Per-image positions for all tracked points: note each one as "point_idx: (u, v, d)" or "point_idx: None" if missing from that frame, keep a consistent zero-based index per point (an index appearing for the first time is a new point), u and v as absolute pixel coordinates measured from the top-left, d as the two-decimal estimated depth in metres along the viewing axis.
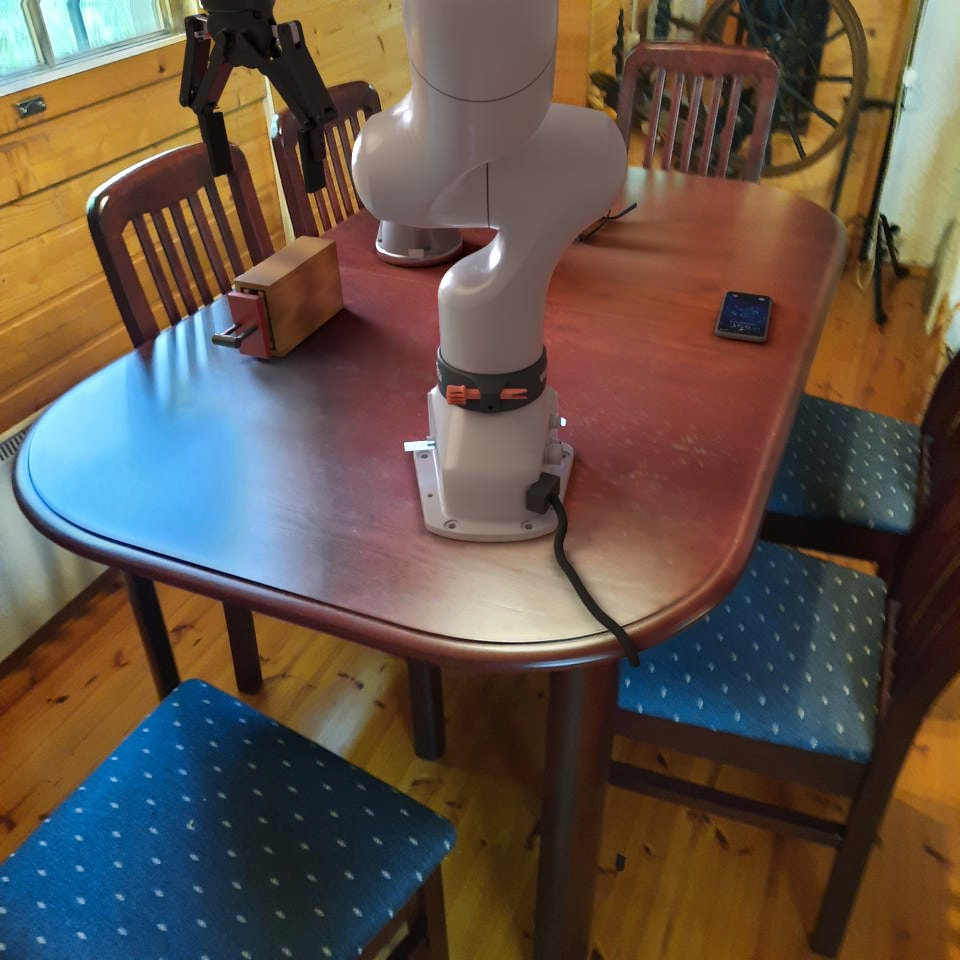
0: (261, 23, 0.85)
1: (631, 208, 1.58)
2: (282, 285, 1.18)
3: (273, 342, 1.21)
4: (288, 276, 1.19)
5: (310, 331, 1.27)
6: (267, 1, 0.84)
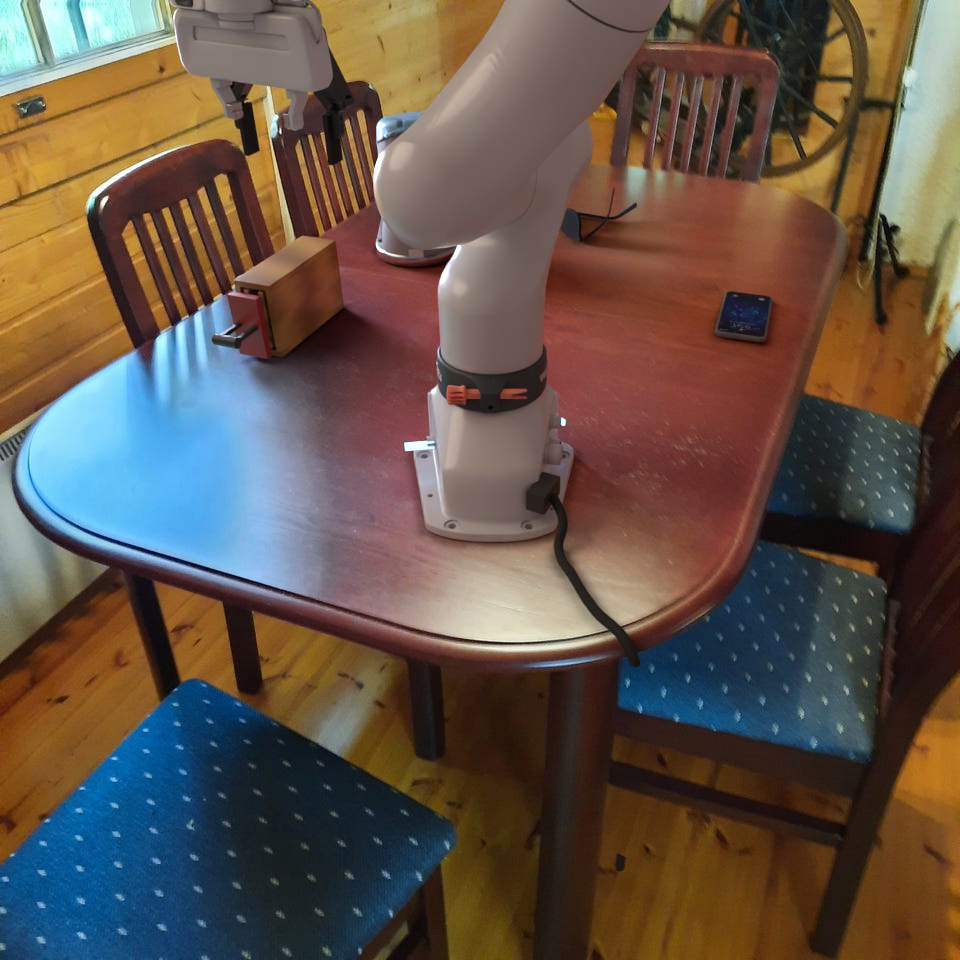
0: None
1: (631, 208, 1.58)
2: (282, 285, 1.18)
3: (273, 342, 1.21)
4: (288, 276, 1.19)
5: (310, 330, 1.27)
6: None
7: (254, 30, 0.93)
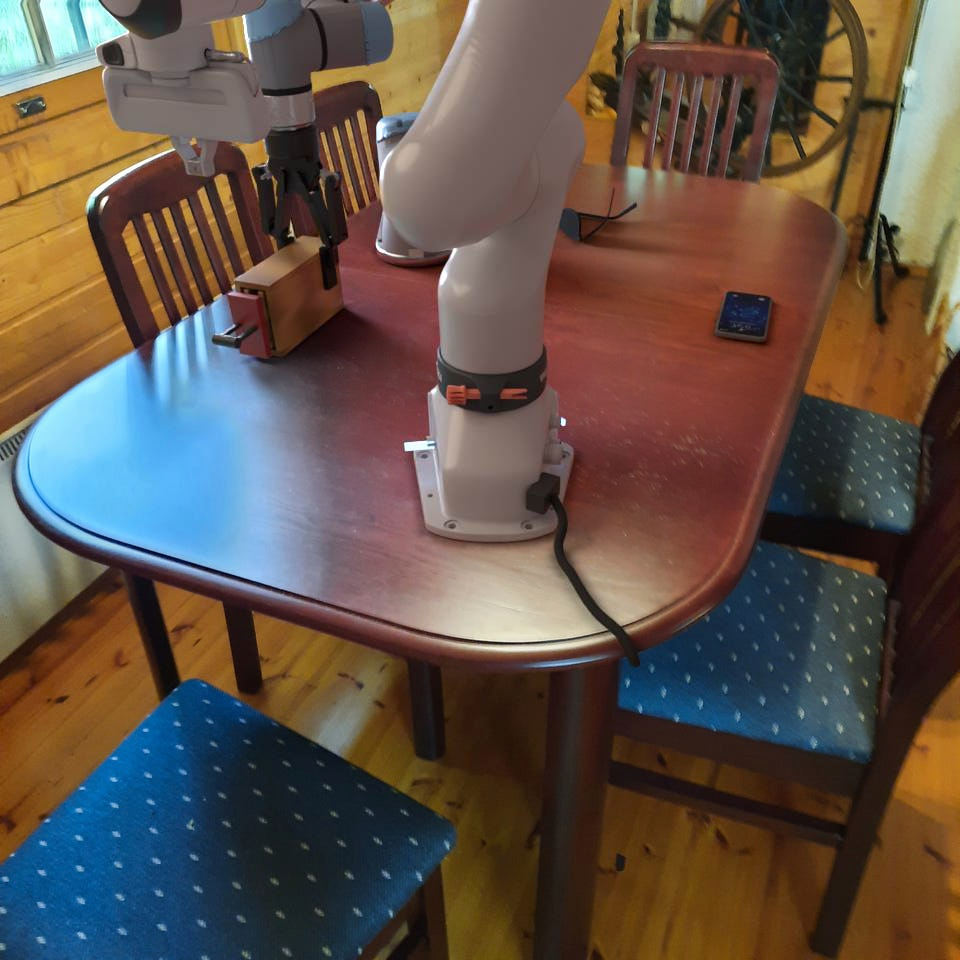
0: None
1: (631, 208, 1.58)
2: (282, 285, 1.18)
3: (273, 342, 1.21)
4: (288, 276, 1.19)
5: (310, 330, 1.27)
6: None
7: (189, 86, 0.94)
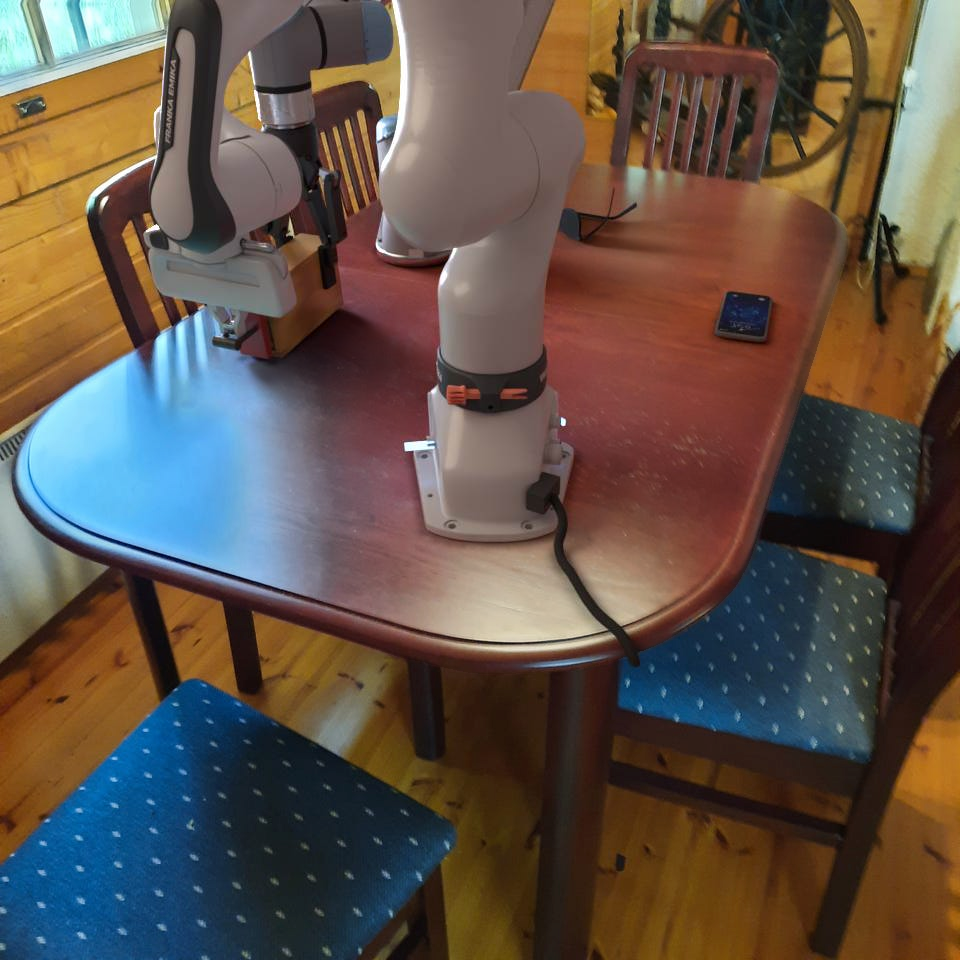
0: None
1: (631, 208, 1.58)
2: None
3: None
4: None
5: (310, 329, 1.27)
6: None
7: (226, 269, 1.07)
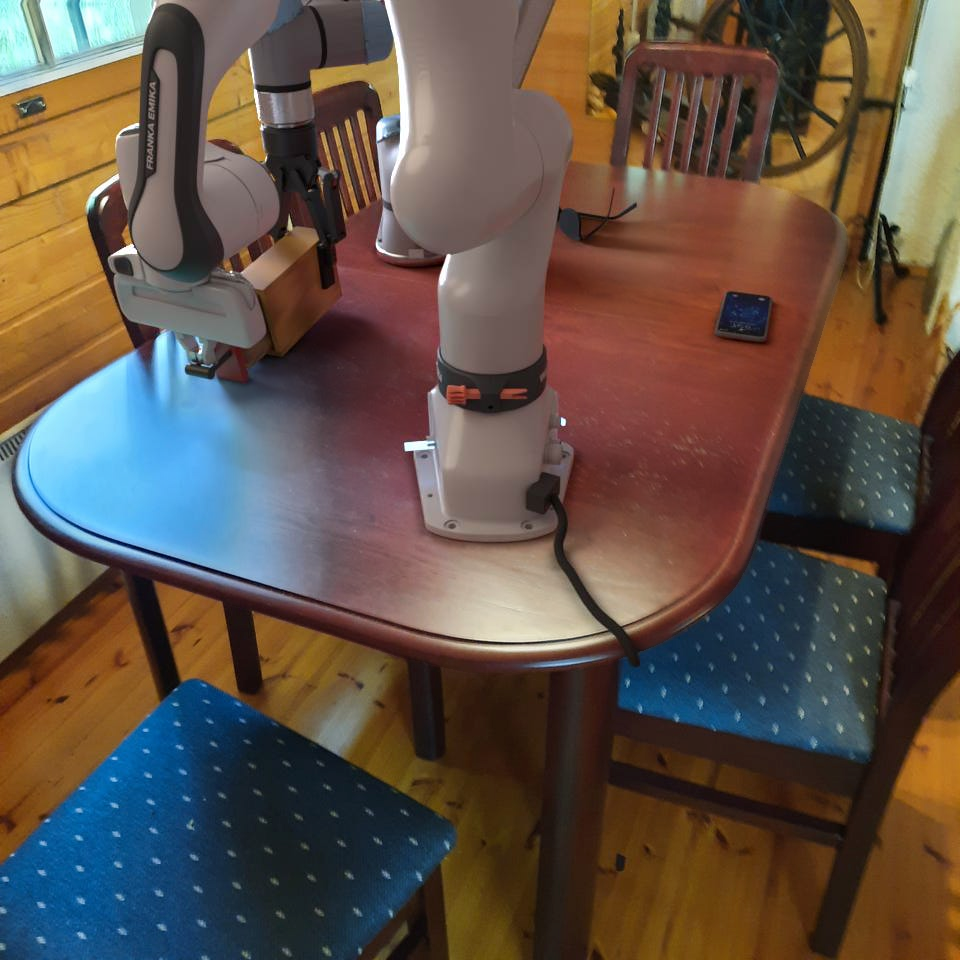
0: None
1: (631, 208, 1.58)
2: (277, 286, 1.17)
3: (250, 363, 1.18)
4: (282, 276, 1.18)
5: (309, 325, 1.26)
6: None
7: (192, 297, 1.03)
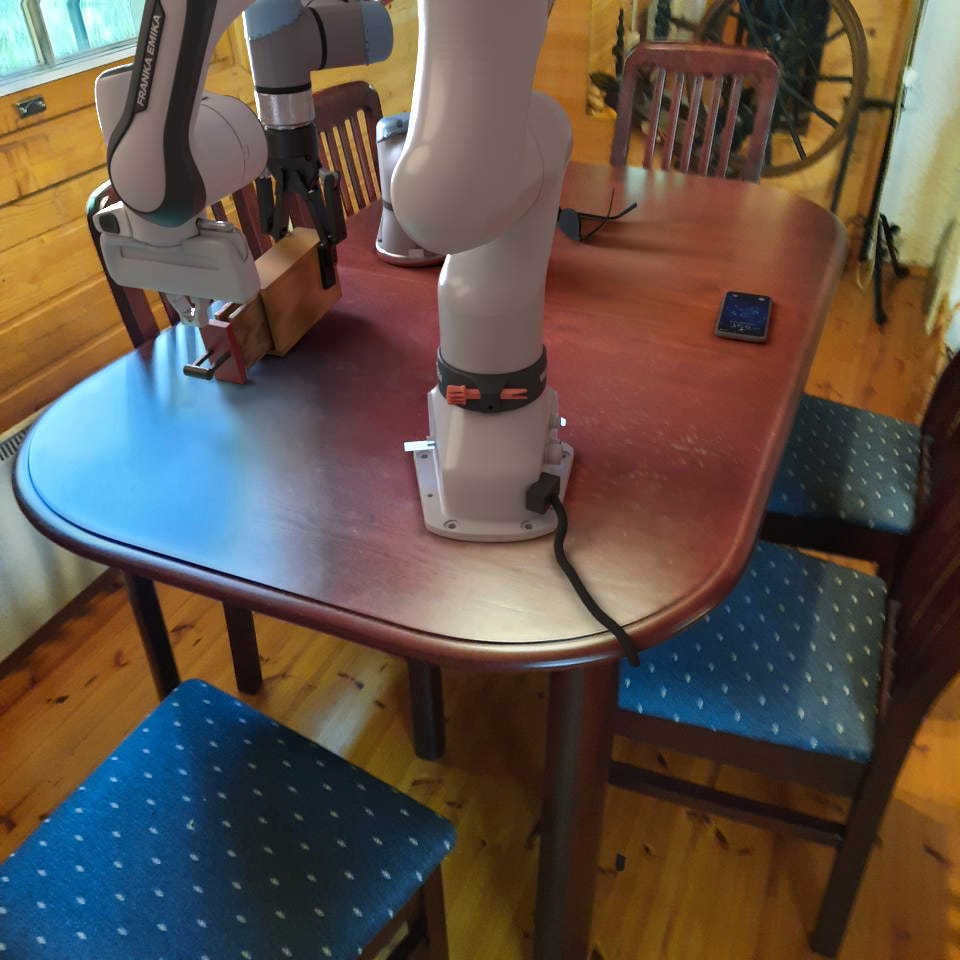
0: None
1: (631, 208, 1.58)
2: (278, 286, 1.17)
3: (249, 365, 1.17)
4: (283, 276, 1.18)
5: (309, 325, 1.27)
6: None
7: (182, 252, 0.99)
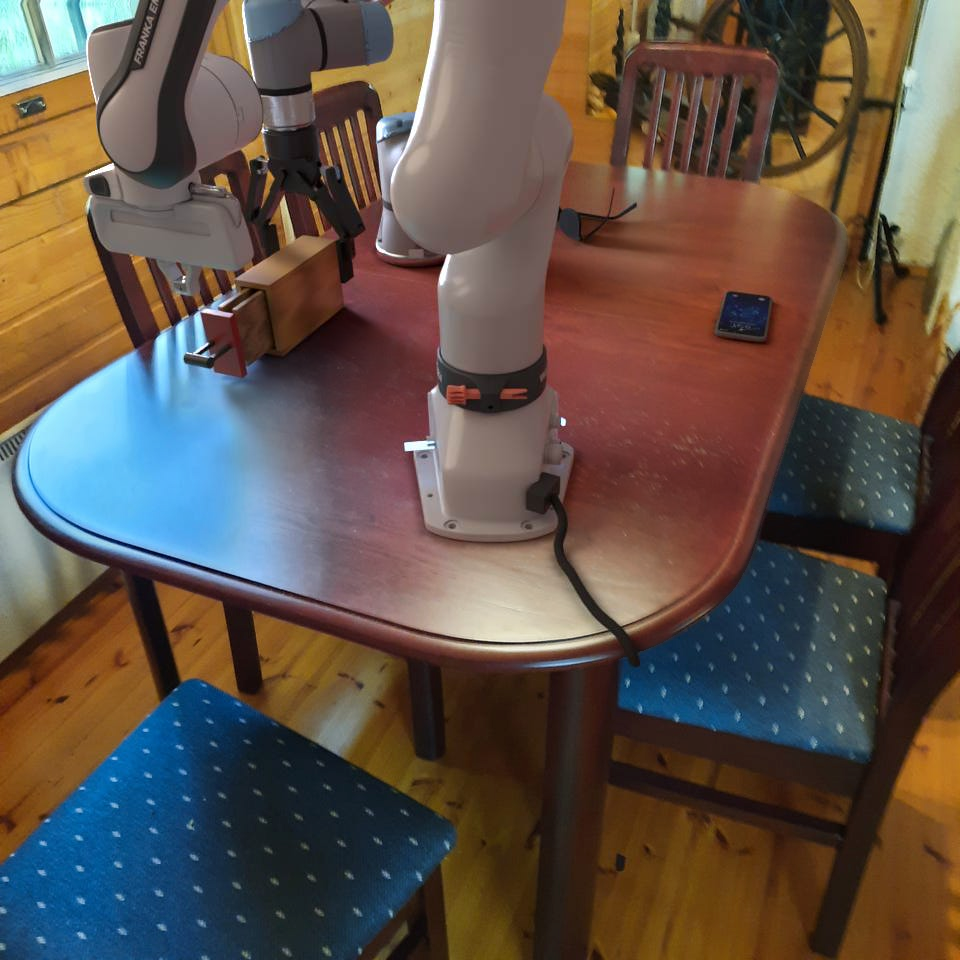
0: None
1: (631, 208, 1.58)
2: (282, 284, 1.18)
3: (249, 360, 1.17)
4: (288, 275, 1.19)
5: (311, 330, 1.27)
6: None
7: (174, 217, 0.97)
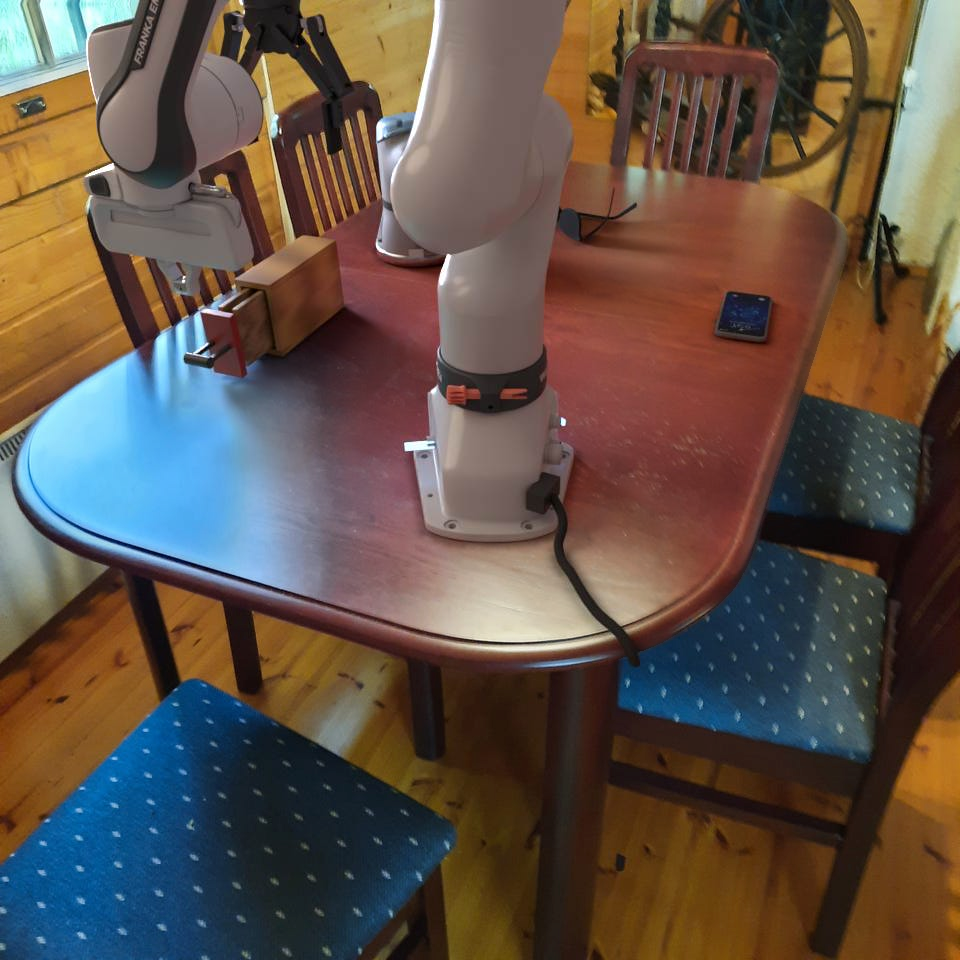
0: None
1: (631, 208, 1.58)
2: (282, 284, 1.18)
3: (249, 360, 1.17)
4: (288, 275, 1.19)
5: (311, 330, 1.27)
6: None
7: (174, 217, 0.97)
